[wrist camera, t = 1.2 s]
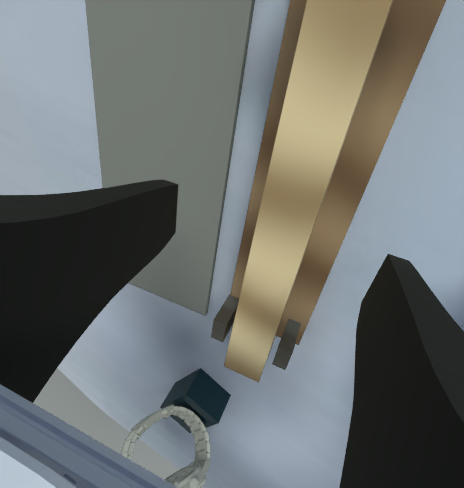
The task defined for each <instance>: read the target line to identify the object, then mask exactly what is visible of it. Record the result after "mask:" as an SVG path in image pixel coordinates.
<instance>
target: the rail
mask: <svg viewBox="0 0 464 488" xmlns="http://www.w3.org/2000/svg"><path fill="white" fill-rule="evenodd" d="M393 1H394V0H307V3H306V7H305V12H304V16H303V21H302V25H301V29H300V34H299V38H298V43H297V47H296V51H295V56H294V60H293V65H292V69H291V73H290V78H289V82H288V87H287V91H286V95H285V100H284V104H283V109H282V113H281V117H280V122H279V126H278V131H277V135H276V139H275V144H274V148H273V153H272V157H271V161H270V166H269V170H268V175H267V179H266V183H265V188H264V192H263V197H262V201H261V205H260V210H259V214H258V219H257V223H256V227H255V232H254V236H253V240H252V245H251V249H250V254H249V258H248V262H247V267H246V271H245V276H244V280H243V284H242V289H241V293H240V298H239V302H238V306H237V311H236V315H235V320H234V324H233V328H232V333H231V337H230V342H229V346H228V350H227V355H226V359H225V364H224V366H225V367H227V368H229V369H231V370H233V371H235V372H238V373H240V374H242V375H244V376H246V377H248V378H251V379H253V380H255V381H257V382H259V380H260V377H261V374H262V372H263V369H264V366H265V364H266V361H267V358H268V355H269V353H270V350H271V347H272V344H273V341H274V339H275V336H276V333H277V330H278V327H279V324H280V322H281V319H282V316H283V313H284V310H285V307H286V305H287V302H288V299H289V296H290V293H291V290H292V287H293V285H294V282H295V279H296V276H297V273H298V270H299V268H300V265H301V262H302V259H303V256H304V253H305V251H306V248H307V245H308V242H309V239H310V236H311V234H312V231H313V228H314V225H315V222H316V219H317V217H318V214H319V211H320V208H321V205H322V202H323V200H324V197H325V194H326V191H327V188H328V185H329V183H330V180H331V177H332V174H333V171H334V168H335V166H336V163H337V160H338V157H339V154H340V151H341V149H342V146H343V143H344V140H345V137H346V134H347V131H348V129H349V126H350V123H351V120H352V117H353V114H354V112H355V109H356V106H357V103H358V100H359V97H360V95H361V92H362V89H363V86H364V83H365V80H366V78H367V75H368V72H369V69H370V66H371V63H372V61H373V58H374V55H375V52H376V49H377V46H378V44H379V41H380V38H381V35H382V32H383V29H384V27H385V24H386V21H387V18H388V15H389V12H390V10H391V7H392V4H393Z"/></svg>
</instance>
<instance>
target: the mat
mask: <svg viewBox="0 0 464 488" xmlns="http://www.w3.org/2000/svg"><path fill="white" fill-rule="evenodd" d="M85 2H86V13H87V24H88V35H89V45H90V56H91V67H92V78H93V88H94V99H95V110H96V121H97V131H98V142H99V153H100V164H101V174H102V185H103V188H108V187H114V186H120V185H126V184H131V183H137V182H143V181H150V180H167V181H170V182H173V183H176V184H178V201H177V218H176V233H175V234H174V235H173V237H172V238H171V240H170V241H169V242H168V244H167V245H166V246H165V247H164V248H163V250H162V251H161V252H160V253H159V254H158V255H157V256H156V257H155V258H154V259H153V260H152V261H151V262H150V263H149V264H148V265H147V266H146V267H144V268H143V269H142V270H141V271H140V272H139V273H138V274H137V275H136V276H135V277H134V278H133V279H132V280H131V281H129V282H128V283H130V284H132V285H134V286H137V287H139V288H141V289H144V290H146V291H148V292H151V293H153V294H155V295H158V296H160V297H162V298H165V299H167V300H169V301H172V302H174V303H176V304H179V305H181V306H183V307H186V308H188V309H190V310H193V311H195V312H197V313H200V314H202V315H204V316H206V314H207V312H208V305H209V298H210V292H211V285H212V279H213V272H214V266H215V259H216V252H217V246H218V239H219V233H220V226H221V219H222V213H223V206H224V200H225V193H226V186H227V180H228V173H229V167H230V160H231V154H232V147H233V140H234V134H235V127H236V121H237V114H238V107H239V101H240V94H241V88H242V81H243V74H244V68H245V61H246V55H247V48H248V42H249V35H250V28H251V22H252V15H253V9H254V2H255V0H85Z"/></svg>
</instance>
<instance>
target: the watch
mask: <svg viewBox="0 0 464 488" xmlns="http://www.w3.org/2000/svg"><path fill="white" fill-rule="evenodd" d="M230 396H231V395H230V394H229V393H228V392H226V391H225V390H224V389H223V388H222V387H221V386H220V385H219V384H218V383H216V382H215V381H214V380H213V379H212V378H211V377H210V376H209V375H207V374H206V373H205V372H204V371H203V370H202V369H201V368H200V369H198V370H197V371H195V372H193V373H191V374H190V375H188V376H186V377H185V378H183V379H181V380H179V381H178V382H176V383H175V384H174V386H173V388H172V389H171V391H170V392H169V394H168V396H167V397H166V399H165V400H164V402H163V404H162V405H161V408H162V409H161V410H159V411H157V412H155V413H153V414H151V415H149V416H147V417H146V418H144V419H143V420H141V421H140V422H139V423H138V424H136V425H135V426H134V427H133V428H132V429H131V430H132V431H131V432H130V434H129V435H128V437H127V438H126V440H125V442H124V444H123V447H122V450H121V455H123V456H124V457H126V458H128V459H130V460H131V461H132V456H131V454H132V453H133V448H134V443H135V441H136V439H139V438H140V437H141V435H142V434H143V433H144V432H145V431H146V430H147V429H148V428H149V427H151V426H152V425H153V424H154V423H155V422H157V421H158V420H160V419H161V418H168V417H170V416H171V417H172V418H173V419H174V420H176V421H177V422H178V423H179V424H180V425H181V426H182V427H184V428H185V429H186V430H187V431H188V432H189V433H192V434H193V435H194V434H195V435H194V436H193V438H194V442H195V444H197V445H196V446H195V455H197V456H195V461H194V462H193V463H191V464H189V466H187V467H185V468H183V469H181V470H179V471H177V472H176V473H174V474H172V475H171V476H169V477H168V478H166V479H165V480H166V481H167V482H169V483H171V484H172V485H174V486H176V487H178V488H201V487H202V486H203V484H204V483H205V482H206V479H207V478H206V475H205V474H206V472H207V470H208V468H209V466H210V462H209V461H210V453H209V452H210V442H207V441H209V437H208V433H207V431H206V427H209V426H212V425H215V424H217V423H219V421H220V419H221V416H222V414H223V412H224V409H225V407H226V405H227V403H228V400H229V398H230ZM203 438H204V439H203ZM200 439H202V440H200ZM202 450H203V451H202Z"/></svg>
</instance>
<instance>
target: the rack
mask: <svg viewBox="0 0 464 488" xmlns="http://www.w3.org/2000/svg"><path fill="white" fill-rule="evenodd" d="M445 2H446V0H394V1H393V4H392V7H391V10H390V12H389V15H388V18H387V21H386V24H385V27H384V29H383V32H382V35H381V38H380V41H379V44H378V46H377V49H376V52H375V55H374V58H373V61H372V63H371V66H370V69H369V72H368V75H367V78H366V80H365V83H364V86H363V89H362V92H361V95H360V97H359V100H358V103H357V106H356V109H355V112H354V114H353V117H352V120H351V123H350V126H349V129H348V131H347V134H346V137H345V140H344V143H343V146H342V149H341V151H340V154H339V157H338V160H337V163H336V166H335V168H334V171H333V174H332V177H331V180H330V183H329V185H328V188H327V191H326V194H325V197H324V200H323V202H322V205H321V208H320V211H319V214H318V217H317V219H316V222H315V225H314V228H313V231H312V234H311V236H310V239H309V242H308V245H307V248H306V251H305V253H304V256H303V259H302V262H301V265H300V268H299V270H298V273H297V276H296V279H295V282H294V285H293V287H292V290H291V293H290V296H289V299H288V302H287V305H286V307H285V310H284V313H283V316H282V319H281V322H280V324H279V327H278V330H277V333H276V336H278V337H281V341H280V343H279V346H278V349H277V352H276V355H275V358H274V361H273V363H272V364H273V365H275V366H277V367H280V368H282V369H284V370H285V369H286V367H287V365H288V362H289V360H290V357H291V355H292V352H293V349H294V346H295V344H297V345H299V343H300V340H301V338H302V336H303V333H304V331H305V329H306V326H307V324H308V322H309V319H310V317H311V315H312V312H313V310H314V308H315V305H316V303H317V301H318V298H319V296H320V294H321V291H322V289H323V287H324V284H325V282H326V280H327V277H328V275H329V273H330V270H331V268H332V266H333V263H334V261H335V259H336V256H337V254H338V252H339V249H340V247H341V245H342V242H343V240H344V238H345V235H346V233H347V231H348V228H349V226H350V224H351V221H352V219H353V217H354V214H355V212H356V210H357V207H358V205H359V203H360V200H361V198H362V196H363V193H364V191H365V189H366V186H367V184H368V182H369V179H370V177H371V175H372V172H373V170H374V168H375V165H376V163H377V161H378V158H379V156H380V154H381V151H382V149H383V147H384V144H385V142H386V140H387V137H388V135H389V132H390V130H391V128H392V125H393V123H394V121H395V118H396V116H397V114H398V111H399V109H400V107H401V104H402V102H403V100H404V97H405V95H406V93H407V90H408V88H409V86H410V83H411V81H412V79H413V76H414V74H415V72H416V69H417V67H418V65H419V62H420V60H421V58H422V55H423V53H424V51H425V48H426V46H427V44H428V41H429V39H430V37H431V34H432V32H433V30H434V27H435V25H436V23H437V20H438V18H439V16H440V13H441V11H442V9H443V6H444V4H445ZM306 3H307V0H290V5H289V10H288V15H287V20H286V25H285V30H284V35H283V39H282V44H281V49H280V54H279V59H278V64H277V69H276V74H275V79H274V84H273V89H272V94H271V98H270V103H269V108H268V113H267V118H266V123H265V128H264V133H263V138H262V143H261V148H260V153H259V157H258V162H257V167H256V172H255V177H254V182H253V187H252V192H251V197H250V202H249V207H248V212H247V216H246V221H245V226H244V231H243V236H242V241H241V246H240V251H239V256H238V261H237V266H236V271H235V275H234V280H233V285H232V290H231V295H229V296H228V298H227V300H226V301H225V303H224V304H223V306H222V308H221V309H220V311H219V312H218V314H217V316H216V317H215V319H214V322H213V328H212V334H211V337H212V338H214V339H217V340H219V341H221V342H223V341H224V339H225V337H226V335H227V334H228V332H229V330H230V328H231V326H232V324H233V323H234V320H235V315H236V311H237V306H238V302H239V298H240V293H241V289H242V284H243V280H244V276H245V271H246V267H247V262H248V258H249V254H250V249H251V245H252V240H253V236H254V232H255V227H256V223H257V219H258V214H259V210H260V205H261V201H262V197H263V192H264V188H265V183H266V179H267V175H268V170H269V166H270V161H271V157H272V153H273V148H274V144H275V139H276V135H277V131H278V126H279V122H280V117H281V113H282V109H283V104H284V100H285V95H286V91H287V87H288V82H289V78H290V73H291V69H292V65H293V60H294V56H295V51H296V47H297V43H298V38H299V34H300V29H301V25H302V21H303V16H304V12H305V7H306Z"/></svg>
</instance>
